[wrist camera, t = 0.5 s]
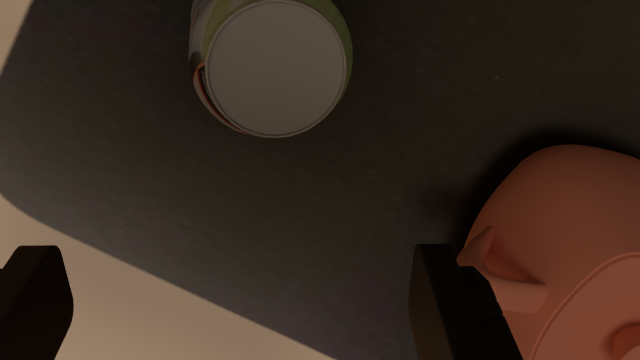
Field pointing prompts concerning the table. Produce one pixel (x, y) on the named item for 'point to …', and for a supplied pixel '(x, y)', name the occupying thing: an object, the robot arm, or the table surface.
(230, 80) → the beverage can
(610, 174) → the teapot
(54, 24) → the table surface
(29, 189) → the table surface
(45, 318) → the robot arm
